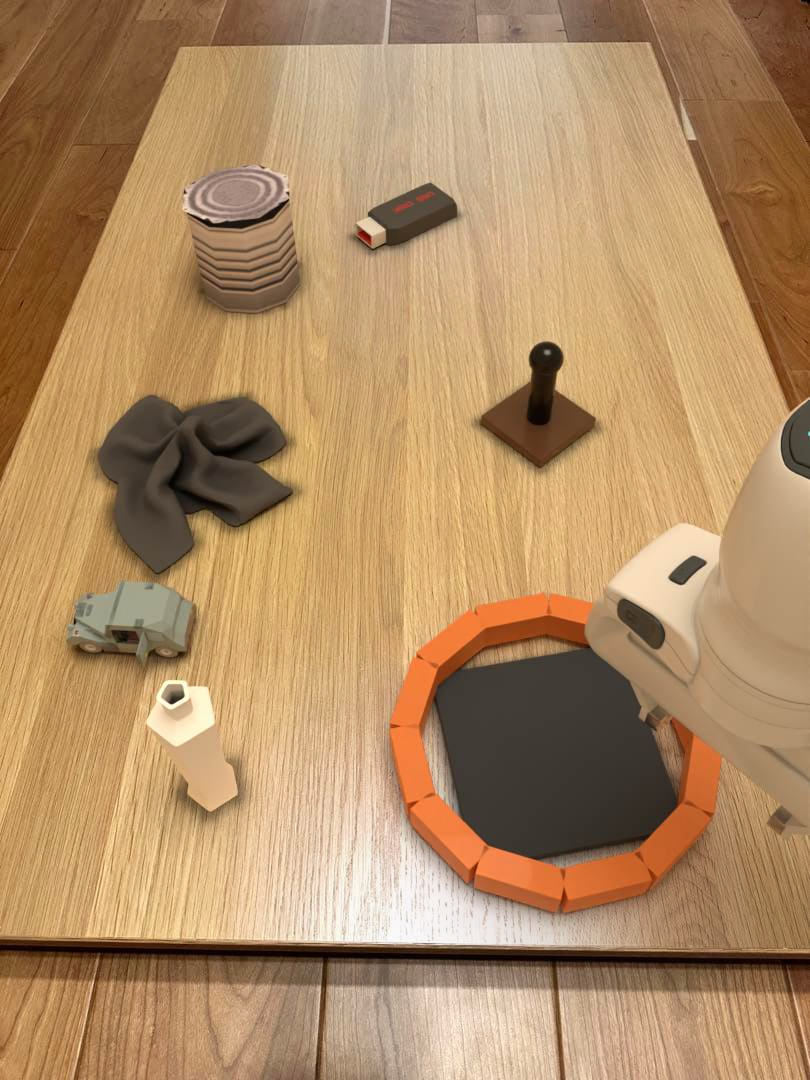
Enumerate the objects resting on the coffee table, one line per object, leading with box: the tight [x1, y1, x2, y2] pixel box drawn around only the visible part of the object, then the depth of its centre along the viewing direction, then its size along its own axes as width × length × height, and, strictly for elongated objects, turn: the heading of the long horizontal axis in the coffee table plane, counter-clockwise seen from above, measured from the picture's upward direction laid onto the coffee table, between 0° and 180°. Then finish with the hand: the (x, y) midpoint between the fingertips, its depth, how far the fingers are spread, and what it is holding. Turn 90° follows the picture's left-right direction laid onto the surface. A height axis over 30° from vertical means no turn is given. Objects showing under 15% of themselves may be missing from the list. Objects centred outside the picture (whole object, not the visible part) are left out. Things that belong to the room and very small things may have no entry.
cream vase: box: [145, 679, 239, 812], centre depth 69 cm, size 5×4×15 cm
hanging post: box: [480, 340, 597, 468], centre depth 93 cm, size 8×8×10 cm
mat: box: [434, 647, 678, 860], centre depth 76 cm, size 16×16×1 cm
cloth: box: [97, 394, 293, 574], centre depth 92 cm, size 22×19×6 cm
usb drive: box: [354, 182, 458, 249], centre depth 116 cm, size 5×12×3 cm, turn 127°
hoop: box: [388, 592, 723, 914], centre depth 75 cm, size 24×24×3 cm
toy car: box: [65, 580, 198, 668], centre depth 81 cm, size 6×10×5 cm, turn 86°
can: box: [181, 164, 301, 315], centre depth 107 cm, size 11×11×12 cm
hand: (717, 769), depth 59 cm, fingers open, 8 cm apart
